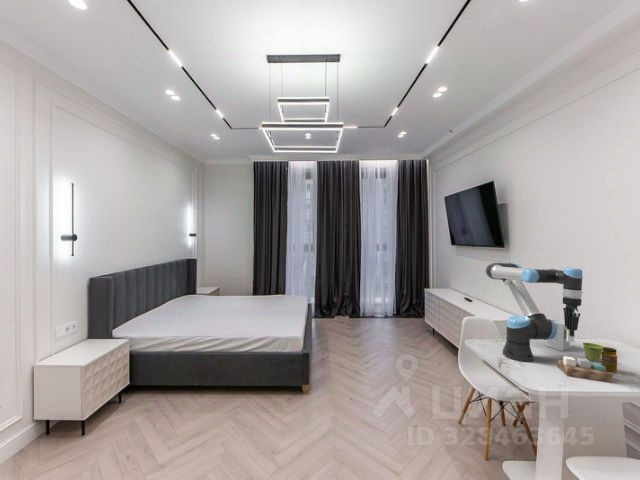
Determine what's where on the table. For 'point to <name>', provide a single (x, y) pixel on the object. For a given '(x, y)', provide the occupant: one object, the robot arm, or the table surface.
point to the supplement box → (559, 337)
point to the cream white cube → (569, 361)
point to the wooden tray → (585, 372)
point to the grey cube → (583, 363)
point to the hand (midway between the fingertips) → (570, 341)
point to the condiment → (609, 360)
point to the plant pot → (593, 351)
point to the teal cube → (598, 367)
